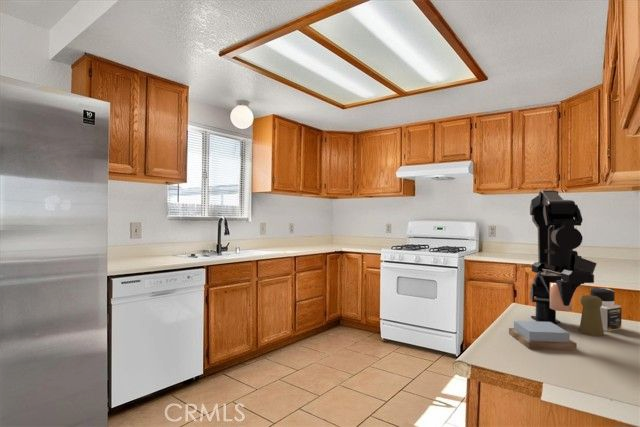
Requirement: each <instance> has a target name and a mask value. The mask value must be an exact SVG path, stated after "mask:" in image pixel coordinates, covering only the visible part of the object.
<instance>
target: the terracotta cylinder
mask: <svg viewBox="0 0 640 427" xmlns="http://www.w3.org/2000/svg"><path fill="white" fill-rule="evenodd" d="M550 309H553V310H556V312H557V311H558V312H572V300H571V301H570V304H569V306H564V304H563V302H562V298H561V295H560V292H559V288H558V285H557V282H550Z"/></svg>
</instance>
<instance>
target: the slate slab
mask: <svg viewBox="0 0 640 427" xmlns="http://www.w3.org/2000/svg"><path fill="white" fill-rule="evenodd" d="M513 328H514V330H516V331H517V332H518V333H519V334H521V335H522V336H523V337H525V338H526V339H527V340H529V341H543V342H570V340H571V338H570V335H571V334H570V332H569V331H567V330H565V329H563V327H560V326H559V325H557V324H556V323H551V322H539V321H537V320H535V321H533V320H531V321H530V320H514V321H513Z"/></svg>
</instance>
